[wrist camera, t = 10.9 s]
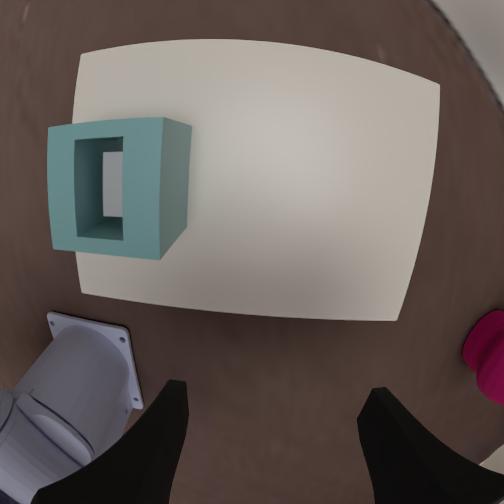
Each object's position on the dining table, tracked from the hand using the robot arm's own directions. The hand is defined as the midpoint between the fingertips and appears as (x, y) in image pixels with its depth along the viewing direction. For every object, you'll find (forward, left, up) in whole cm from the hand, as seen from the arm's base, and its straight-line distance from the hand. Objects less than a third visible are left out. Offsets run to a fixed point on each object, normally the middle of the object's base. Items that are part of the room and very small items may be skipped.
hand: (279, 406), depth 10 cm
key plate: (+7, +2, -9) cm, 12 cm away
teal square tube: (+7, +8, -8) cm, 13 cm away
